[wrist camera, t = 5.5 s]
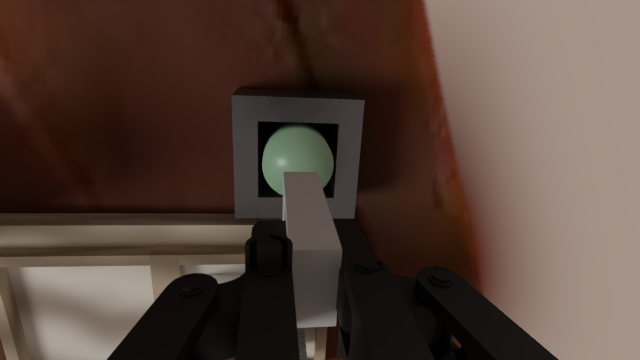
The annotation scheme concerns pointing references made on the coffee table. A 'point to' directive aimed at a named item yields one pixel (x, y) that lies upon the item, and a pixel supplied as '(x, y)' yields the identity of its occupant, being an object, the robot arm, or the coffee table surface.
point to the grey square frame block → (305, 108)
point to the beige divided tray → (106, 276)
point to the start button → (296, 153)
